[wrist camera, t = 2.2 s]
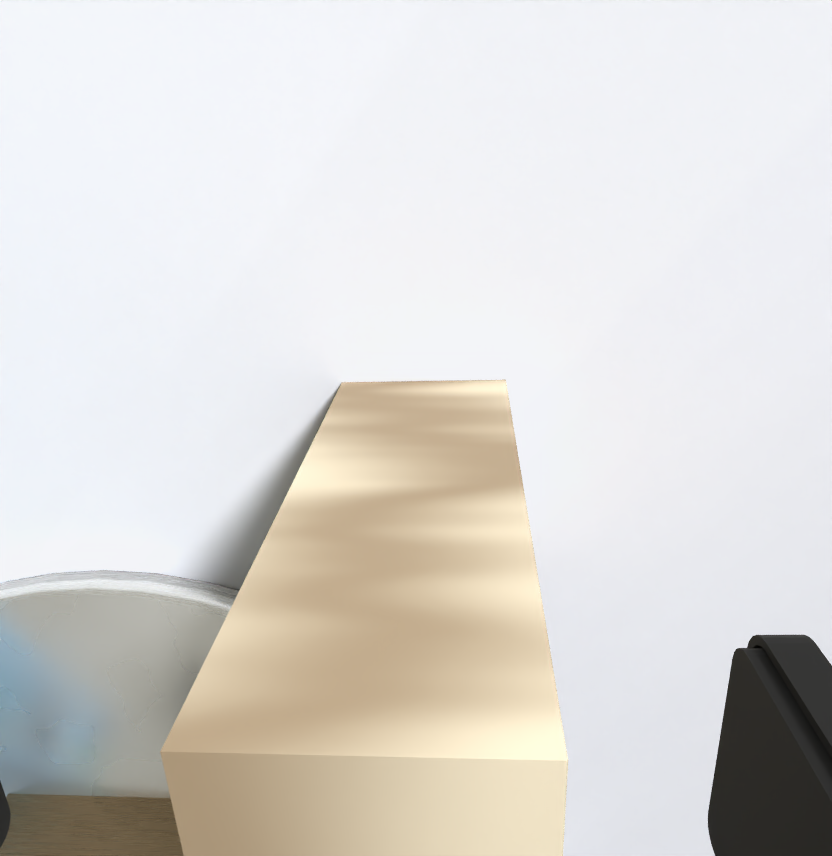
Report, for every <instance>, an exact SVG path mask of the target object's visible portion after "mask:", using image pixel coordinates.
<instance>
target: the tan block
mask: <svg viewBox="0 0 832 856" xmlns="http://www.w3.org/2000/svg"><path fill="white" fill-rule="evenodd" d="M160 753H161V758H162V762H163V767H164V771H165V775H166V780H167V784H168V789H169V793H170V797H171V802H172V806H173V811H174V815H175V820H176V824H177V828H178V833H179V837H180V842H181V846H182V850H183V855H184V856H563V842H564V825H565V807H566V789H567V771H568V757H567V751H566V745H565V739H564V733H563V727H562V721H561V714H560V708H559V702H558V696H557V690H556V684H555V678H554V672H553V666H552V660H551V653H550V647H549V641H548V635H547V629H546V623H545V617H544V611H543V605H542V598H541V592H540V586H539V580H538V574H537V568H536V562H535V556H534V550H533V544H532V537H531V531H530V525H529V519H528V513H527V507H526V501H525V495H524V489H523V483H522V476H521V470H520V464H519V458H518V452H517V446H516V440H515V434H514V428H513V422H512V415H511V409H510V403H509V397H508V391H507V385H506V380H472V381H407V382H343V383H341V385H340V387H339V389H338V391H337V393H336V395H335V397H334V399H333V401H332V403H331V405H330V408H329V410H328V412H327V414H326V416H325V418H324V420H323V422H322V424H321V426H320V428H319V430H318V432H317V434H316V436H315V438H314V440H313V442H312V444H311V446H310V448H309V450H308V452H307V454H306V456H305V458H304V460H303V462H302V464H301V466H300V468H299V471H298V473H297V475H296V477H295V479H294V481H293V483H292V485H291V487H290V489H289V491H288V493H287V495H286V497H285V499H284V501H283V503H282V505H281V507H280V509H279V511H278V513H277V515H276V517H275V519H274V521H273V523H272V525H271V527H270V529H269V531H268V533H267V536H266V538H265V540H264V542H263V544H262V546H261V548H260V550H259V552H258V554H257V556H256V558H255V560H254V562H253V564H252V566H251V568H250V570H249V572H248V574H247V576H246V578H245V580H244V582H243V584H242V586H241V588H240V590H239V592H238V594H237V596H236V599H235V601H234V603H233V605H232V607H231V609H230V611H229V613H228V615H227V617H226V619H225V621H224V623H223V625H222V627H221V629H220V631H219V633H218V635H217V637H216V639H215V641H214V643H213V645H212V647H211V649H210V651H209V653H208V655H207V657H206V659H205V661H204V664H203V666H202V668H201V670H200V672H199V674H198V676H197V678H196V680H195V682H194V684H193V686H192V688H191V690H190V692H189V694H188V696H187V698H186V700H185V702H184V704H183V706H182V708H181V710H180V712H179V714H178V716H177V718H176V720H175V722H174V724H173V727H172V729H171V731H170V733H169V735H168V737H167V739H166V741H165V743H164V745H163V747H162V749H161V751H160Z"/></svg>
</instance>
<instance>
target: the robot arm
mask: <svg viewBox="0 0 832 856" xmlns="http://www.w3.org/2000/svg"><path fill="white" fill-rule="evenodd" d="M10 818H11V813H10V807H9V805H8V802H7V799H6V796H5V793H4V790H3V787H2V784H1V781H0V848H1V846H2V844H3V842H4V840H5V839H6V836H7V833H8V830H9V826H10ZM708 828H709V835H710V840H711V844H712V847H713V850H714V853H715V856H832V665H831V664H830V663H829V661H828V660H827V659H826V657H825V656H824V654H823V653H822V652H821V650H820V649H819V648H818V646H817V645H816V643H815V642H814V641H813V640H812V639H811V638H810V637H808V636H806V635H755V636H752V638H751V639H750V641H749V643H748V647H747V648H738V649H736V651H735V652H734V655H733V659H732V665H731V672H730V678H729V684H728V691H727V697H726V703H725V710H724V716H723V722H722V729H721V735H720V741H719V748H718V754H717V760H716V767H715V773H714V779H713V786H712V792H711V798H710V805H709V811H708Z"/></svg>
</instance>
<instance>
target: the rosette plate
mask: <svg viewBox="0 0 832 856" xmlns="http://www.w3.org/2000/svg"><path fill="white" fill-rule="evenodd" d="M238 592H239V591H238V590H234V589H231V588H227V587H224V586H220V585H217V584H213V583H210V582H204V581H198V580H192V579H186V578H181V577H175V576H169V575H163V574H157V573H142V572H126V571H109V570H100V571H81V572H63V573H51V574H46V575H40V576H35V577H29V578H24V579H18V580H13V581H7V582H4V583H1V584H0V781H1V784H2V787H3V790H4V793H5V796H6V799H7V802H8V805H9V807H10V813H11V818H10V826H9V830H8V833H7V836H6V839H5V840H4V842H3V844H2V846H1V848H0V856H184V855H183V850H182V846H181V842H180V837H179V833H178V828H177V824H176V820H175V815H174V811H173V806H172V802H171V797H170V793H169V789H168V784H167V780H166V775H165V771H164V767H163V762H162V758H161V753H160V751H161V749H162V747H163V745H164V743H165V741H166V739H167V737H168V735H169V733H170V731H171V729H172V727H173V724H174V722H175V720H176V718H177V716H178V714H179V712H180V710H181V708H182V706H183V704H184V702H185V700H186V698H187V696H188V694H189V692H190V690H191V688H192V686H193V684H194V682H195V680H196V678H197V676H198V674H199V672H200V670H201V668H202V666H203V664H204V661H205V659H206V657H207V655H208V653H209V651H210V649H211V647H212V645H213V643H214V641H215V639H216V637H217V635H218V633H219V631H220V629H221V627H222V625H223V623H224V621H225V619H226V617H227V615H228V613H229V611H230V609H231V607H232V605H233V603H234V601H235V599H236V596H237V594H238Z"/></svg>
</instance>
